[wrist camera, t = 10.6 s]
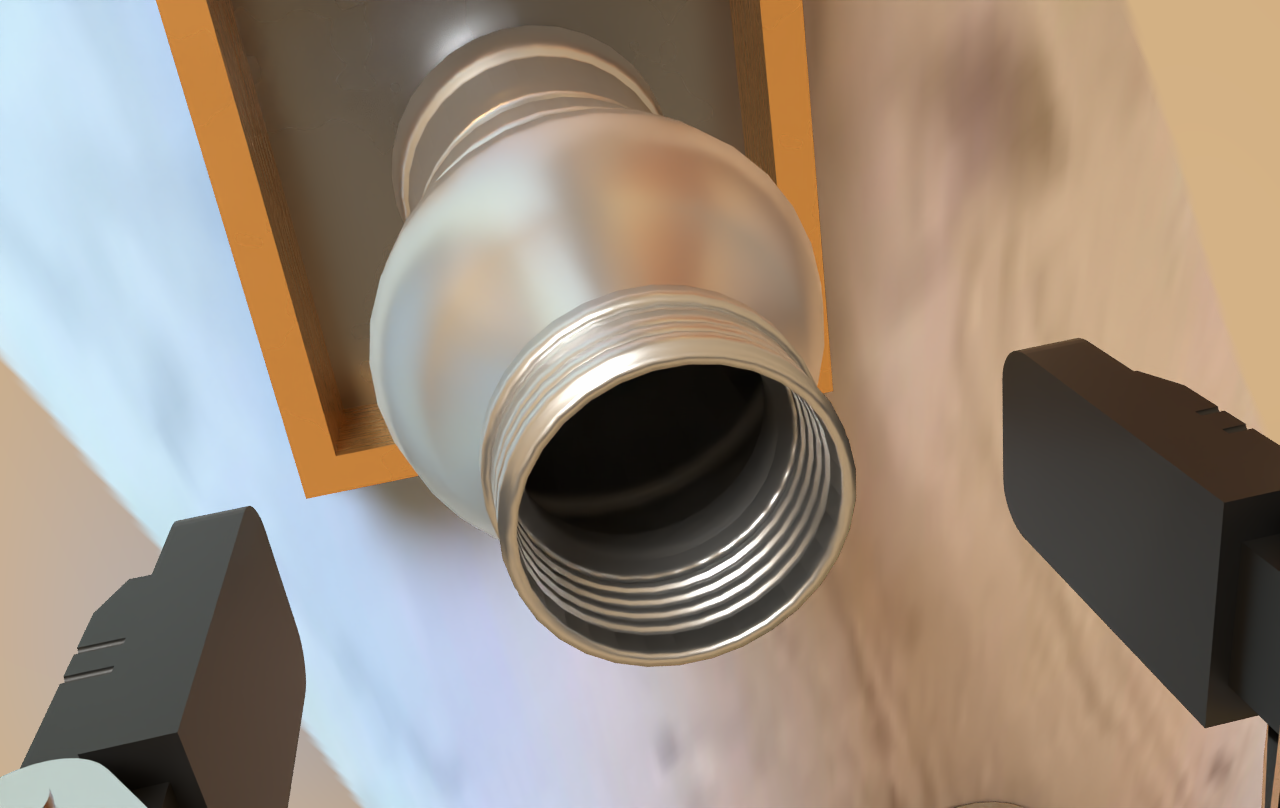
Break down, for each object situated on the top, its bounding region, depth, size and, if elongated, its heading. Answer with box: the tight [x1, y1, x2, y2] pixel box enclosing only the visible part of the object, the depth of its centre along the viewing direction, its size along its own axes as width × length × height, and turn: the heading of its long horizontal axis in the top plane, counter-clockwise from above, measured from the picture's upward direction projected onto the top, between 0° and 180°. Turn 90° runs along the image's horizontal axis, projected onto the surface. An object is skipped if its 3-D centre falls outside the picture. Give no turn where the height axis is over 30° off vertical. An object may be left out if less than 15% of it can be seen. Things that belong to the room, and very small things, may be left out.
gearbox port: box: [156, 0, 833, 499], centre depth 29 cm, size 15×15×4 cm
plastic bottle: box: [369, 25, 856, 667], centre depth 20 cm, size 6×7×20 cm
